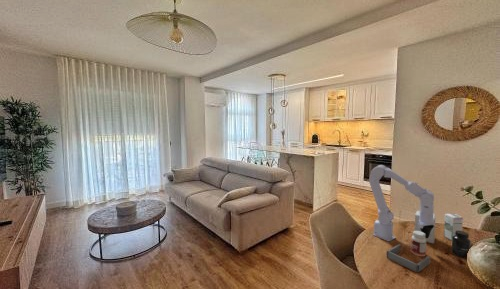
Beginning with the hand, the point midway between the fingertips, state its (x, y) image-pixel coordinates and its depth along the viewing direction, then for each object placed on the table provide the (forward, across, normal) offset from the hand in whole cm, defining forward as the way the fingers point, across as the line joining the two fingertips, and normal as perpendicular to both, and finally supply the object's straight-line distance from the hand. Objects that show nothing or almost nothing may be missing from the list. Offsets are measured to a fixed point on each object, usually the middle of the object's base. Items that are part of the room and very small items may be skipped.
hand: (425, 237), depth 115 cm
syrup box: (+7, +26, -4) cm, 27 cm away
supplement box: (+7, +13, +5) cm, 16 cm away
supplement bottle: (+7, +9, -12) cm, 16 cm away
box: (+6, -19, 0) cm, 20 cm away
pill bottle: (+7, -8, 0) cm, 10 cm away
